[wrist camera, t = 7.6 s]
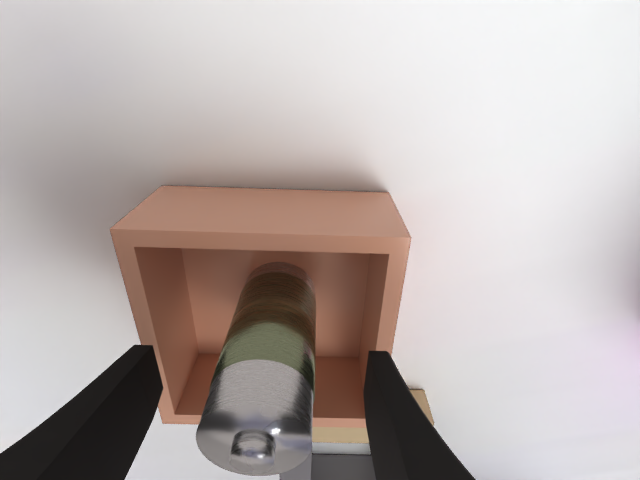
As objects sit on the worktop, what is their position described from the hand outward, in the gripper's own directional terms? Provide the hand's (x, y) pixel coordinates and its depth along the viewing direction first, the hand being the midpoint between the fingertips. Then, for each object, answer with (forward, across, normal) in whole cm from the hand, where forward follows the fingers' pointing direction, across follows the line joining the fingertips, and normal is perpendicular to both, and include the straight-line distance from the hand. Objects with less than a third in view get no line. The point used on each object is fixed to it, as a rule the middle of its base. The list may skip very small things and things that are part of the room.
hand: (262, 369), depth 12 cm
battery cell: (+4, 0, 0) cm, 5 cm away
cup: (+5, 0, 0) cm, 5 cm away
